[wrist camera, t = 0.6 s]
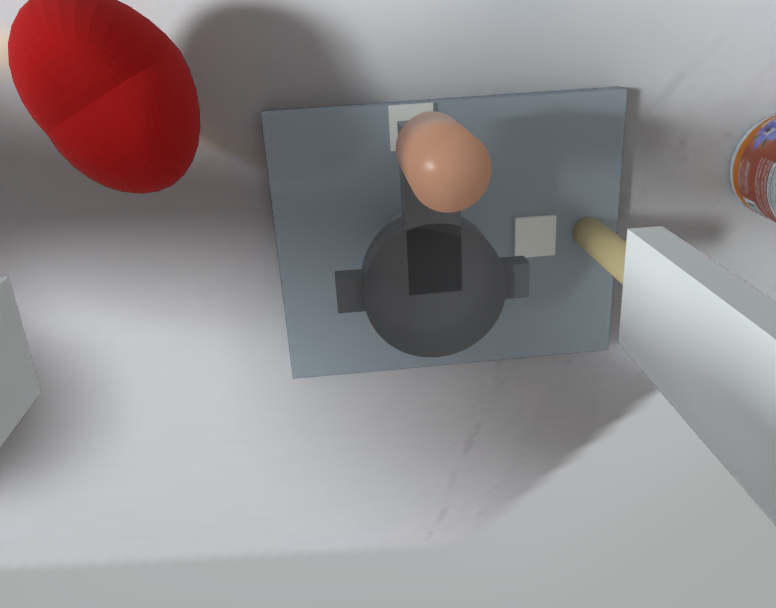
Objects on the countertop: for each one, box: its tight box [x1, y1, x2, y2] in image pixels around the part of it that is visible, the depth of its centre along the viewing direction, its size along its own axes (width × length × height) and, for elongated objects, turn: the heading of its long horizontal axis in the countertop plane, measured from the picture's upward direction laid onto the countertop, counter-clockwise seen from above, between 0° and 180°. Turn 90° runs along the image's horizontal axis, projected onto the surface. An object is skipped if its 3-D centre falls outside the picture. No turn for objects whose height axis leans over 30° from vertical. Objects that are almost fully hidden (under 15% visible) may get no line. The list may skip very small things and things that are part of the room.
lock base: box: [261, 87, 627, 379], centre depth 39 cm, size 20×16×8 cm
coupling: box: [335, 111, 530, 358], centre depth 32 cm, size 12×10×7 cm
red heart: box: [8, 0, 200, 194], centre depth 33 cm, size 9×7×10 cm
